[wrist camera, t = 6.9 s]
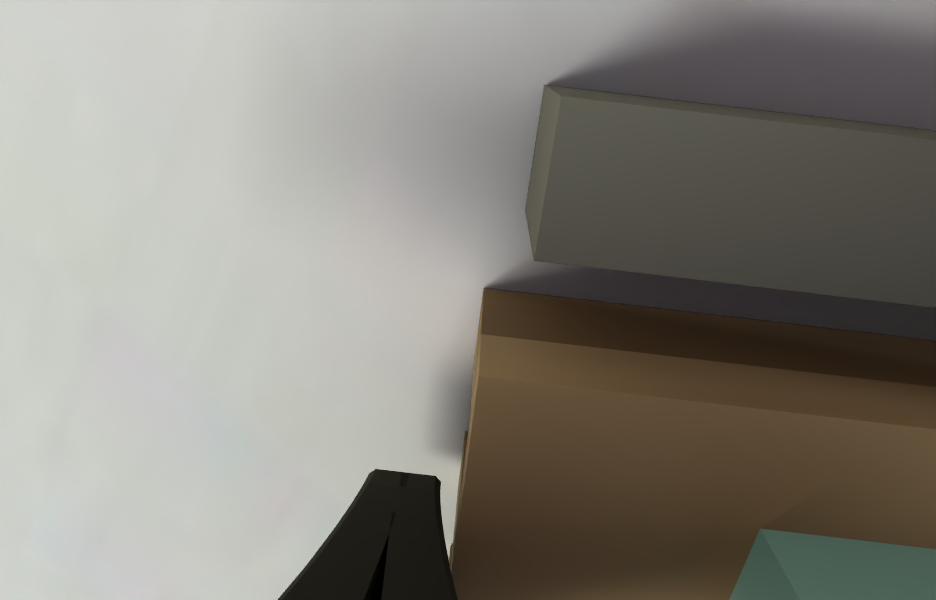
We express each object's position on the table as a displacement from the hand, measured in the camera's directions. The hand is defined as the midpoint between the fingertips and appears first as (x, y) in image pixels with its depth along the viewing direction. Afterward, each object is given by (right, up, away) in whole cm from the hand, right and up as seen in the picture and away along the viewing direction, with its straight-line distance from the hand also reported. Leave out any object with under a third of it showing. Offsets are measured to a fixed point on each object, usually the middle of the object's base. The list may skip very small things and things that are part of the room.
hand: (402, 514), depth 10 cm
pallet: (+7, 0, +1) cm, 7 cm away
